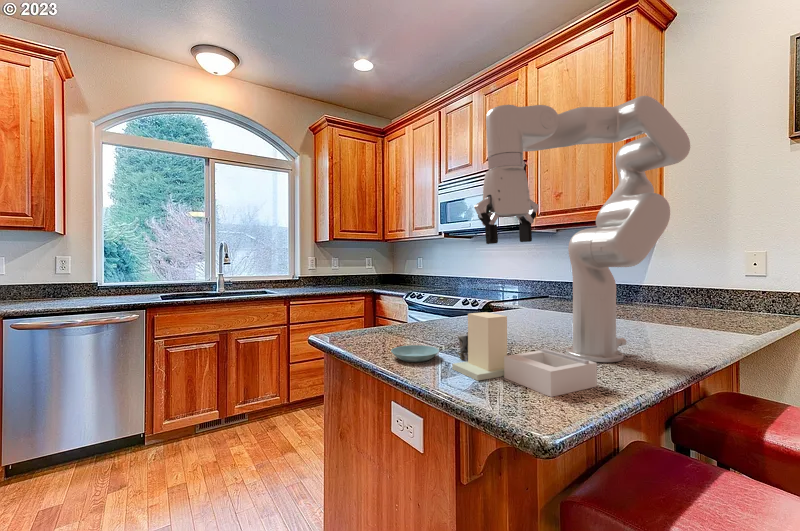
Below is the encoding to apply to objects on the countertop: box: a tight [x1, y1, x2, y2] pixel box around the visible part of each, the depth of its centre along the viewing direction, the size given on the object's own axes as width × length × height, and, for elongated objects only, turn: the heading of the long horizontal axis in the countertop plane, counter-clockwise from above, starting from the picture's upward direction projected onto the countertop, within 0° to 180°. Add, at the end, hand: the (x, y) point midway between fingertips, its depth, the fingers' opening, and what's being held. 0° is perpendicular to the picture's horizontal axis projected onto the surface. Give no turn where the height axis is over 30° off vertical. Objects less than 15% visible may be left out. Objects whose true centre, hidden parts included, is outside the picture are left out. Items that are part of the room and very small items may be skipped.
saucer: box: [390, 344, 440, 363], centre depth 93 cm, size 12×12×2 cm
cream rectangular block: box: [467, 311, 508, 371], centre depth 82 cm, size 5×7×11 cm
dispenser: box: [503, 347, 598, 398], centre depth 75 cm, size 12×12×5 cm
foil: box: [457, 332, 468, 362], centre depth 93 cm, size 12×11×15 cm
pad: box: [451, 361, 504, 382], centre depth 82 cm, size 12×9×1 cm
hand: (509, 242), depth 84 cm, fingers open, 9 cm apart
